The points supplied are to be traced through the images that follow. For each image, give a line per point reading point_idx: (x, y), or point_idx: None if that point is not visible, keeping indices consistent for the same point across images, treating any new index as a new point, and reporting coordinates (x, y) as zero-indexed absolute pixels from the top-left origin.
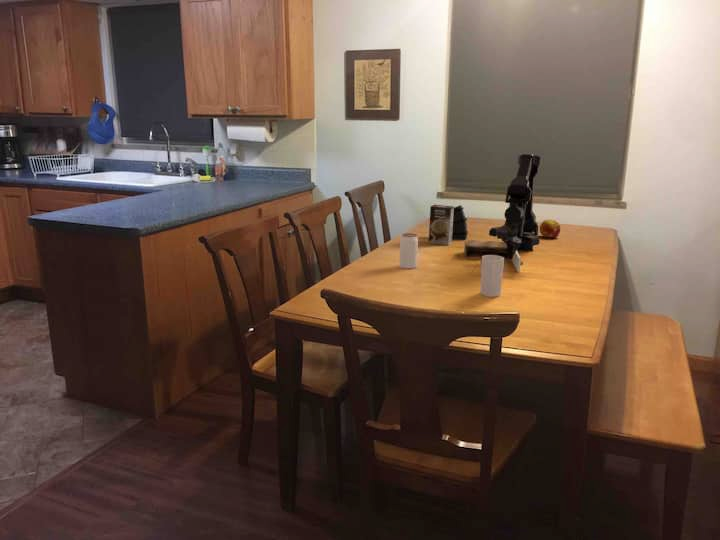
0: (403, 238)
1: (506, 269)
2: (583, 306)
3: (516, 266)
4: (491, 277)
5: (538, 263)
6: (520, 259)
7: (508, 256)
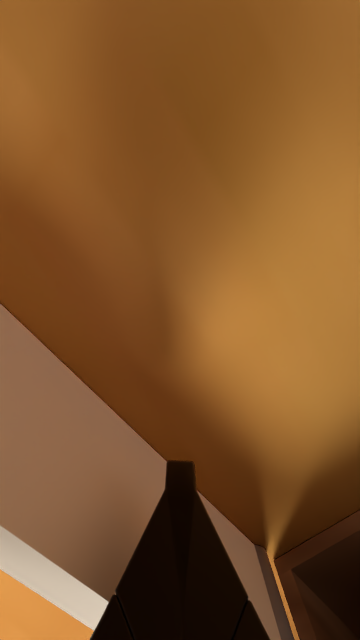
0: None
1: (106, 253)
2: None
3: (26, 356)
4: None
5: (67, 625)
6: None
7: (337, 604)
